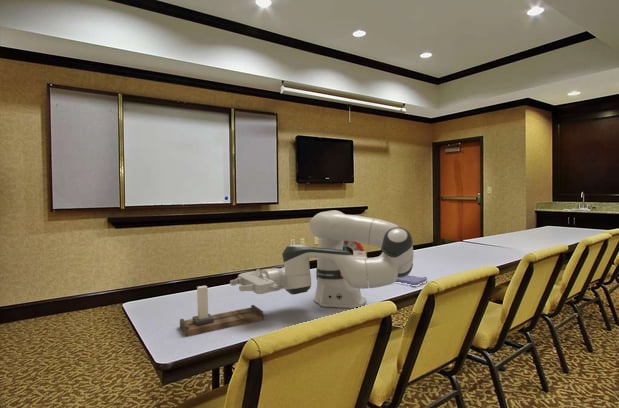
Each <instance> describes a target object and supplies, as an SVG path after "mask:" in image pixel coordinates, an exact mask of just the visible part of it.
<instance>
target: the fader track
mask: <svg viewBox="0 0 619 408" xmlns="http://www.w3.org/2000/svg"><path fill="white" fill-rule="evenodd" d="M210 315H211V316H212V317H213V318H214V322H210V323H206V324H201V325H196V324H195V323H194V321H193V319H192V318H191V319H184V318H180V319H179V328H180V330H181V331H182V332H183V334H184V335H185V337H190V336H191V337H192V336H195V335H200V334H204V333H209V332H213V331H218V330H221V329H227V328H231V327H236V326H240V325H245V324H249V323H253V322H258V321H264V311H263V310H261V308H259V307H257V306H256V305H254V304H251V305H250V307H245V308H241V309H237V310H235V309H234V310H232V311H231V310H230V311H226V312H222V313H216V314H210Z"/></svg>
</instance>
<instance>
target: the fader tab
mask: <svg viewBox="0 0 619 408" xmlns="http://www.w3.org/2000/svg"><path fill="white" fill-rule="evenodd" d="M208 290H209V289H208V286H207V285H201V286H200V285H199V286H196V292H197V293H196V295H197V298H196V299H197V315H195V316H194V315H193V316H192V318H191V319H193V321H194V323H195V324H196V325H201V324H206V323H210V322H214V318H213V317H212V316H211V315H212V314H211V313H209V300H208V297H209V296H208Z"/></svg>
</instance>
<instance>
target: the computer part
mask: <svg viewBox="0 0 619 408" xmlns="http://www.w3.org/2000/svg"><path fill="white" fill-rule="evenodd" d="M427 280H428V277H427V276H423V277H421V276H414V275H410V274H408V275H407V276H405V277H401V278H398V277H397V279H396V281H395V282H401V283H407V284H411V285H418V284H420V283H423V282H425V281H426V282H427Z"/></svg>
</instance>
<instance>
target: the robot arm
mask: <svg viewBox="0 0 619 408" xmlns="http://www.w3.org/2000/svg"><path fill="white" fill-rule="evenodd" d="M309 230H310V232H311V234H312V236H314V237H316V238H319V239H320V241H319V245H318V247H317V246H307V245H304V244H290V245H287V246H286V247H285V248H284V250H283V252H282V254H281V255H282V262H283V265H284V266H283V267H281V268H277V267H274V268H273V267H272V268H257V269H256V270H252V271H246V272H242V273H240V274H238V275H237V278H235V279H231V280H230V281H229V285H230V286H236V285H239V286H238V290H239V291H240V292H253V293H255V294H257V295H265V294H268V293H272V292H278V291H280V290H283V289H284V290H285V291H286V292H287V293H289V294H290V295H292V296H293V295H297V294H303V293H307V292H308V291H309V290H310V289H311V287H312V277H311V268H310V259H311V258H313V259H314V258H315V259H317V261H316V263H317V267H316V272H315V273H316V274H315V277H316V289H315V295H314V299H313V301H314V302H315V303H316V304H318V305H319V306H321V307H325V308H326V307H327V308H341V309H343V308H344V309H345V308H346V309H357V308H356V307H359V308H361V307H360V306H362V307H363V306H365V304H366V303H367V298H366V296H362V292H361V289H362V290H365V289H375V288H381V287H386V286H391V285H393V284H395V283H394V282H395V281H396V279H397V277H398V278H401V277H405V276H407V275H410V273H411V272H412V269H413V267H414V263H413V262H414V257H415V256H414V246H413V237H412V235H411V233H410V231H408V230H407V229H406V228H404V227H400V226H398V225H397V224H396V223H393V222H390V221H387V220H383V219H379V218H374V217H368V216H362V215H356V214H355V215H354V214H345V213H343V212H342V211H339V210H335V209H334V210H332V209H331V210H327V211H321V212H319V213H316V214H314V216H313V217H312V218H311V219H310V221H309ZM344 241H353V242H358V243H360V244H364V245H369V246H374V247H375V246H376V247H378V248H380V249H381V250H380V251H382V252H381V254H380V255H379V256H375V257H367V258H366V260H365V258H357V257H355V256H353V255H352V254H351V253H350V252H349V251H346V250H343V244H344ZM366 266H367V269H366Z"/></svg>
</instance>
